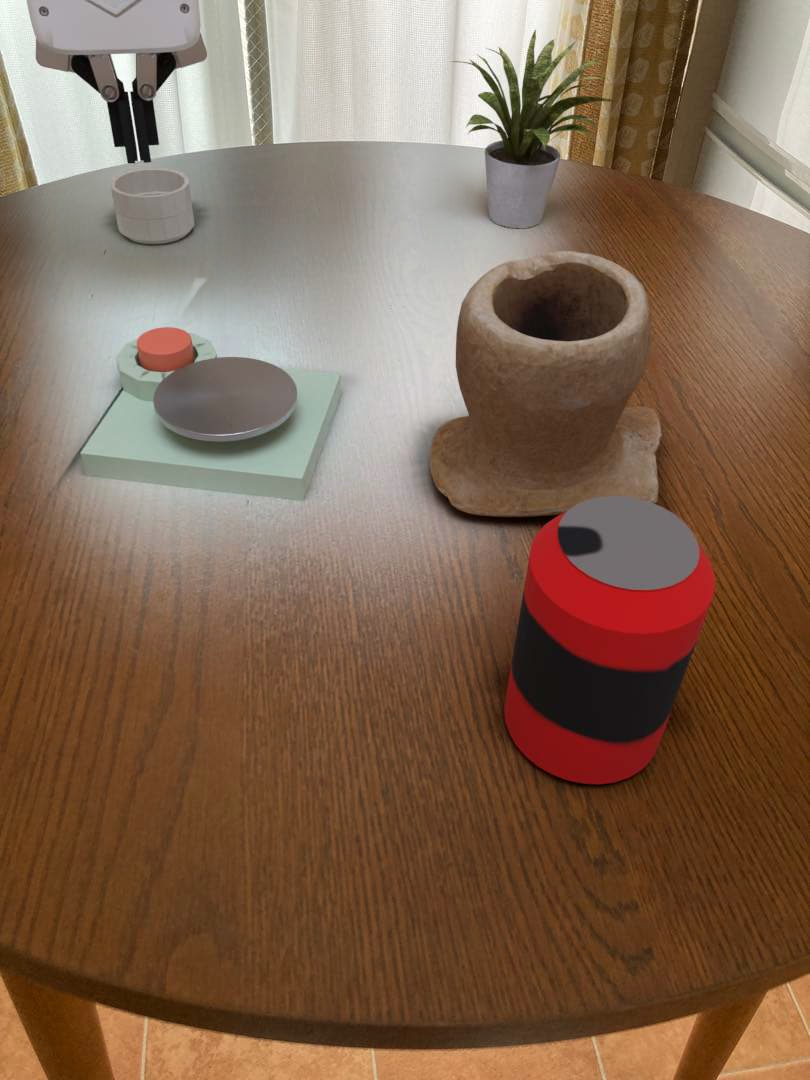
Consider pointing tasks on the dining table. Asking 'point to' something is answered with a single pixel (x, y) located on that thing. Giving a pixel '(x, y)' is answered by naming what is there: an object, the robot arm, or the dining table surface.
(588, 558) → the soda can
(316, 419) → the scale
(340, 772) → the dining table surface
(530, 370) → the stone cup
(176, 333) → the tare button
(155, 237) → the bowl
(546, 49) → the house plant
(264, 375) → the plate
